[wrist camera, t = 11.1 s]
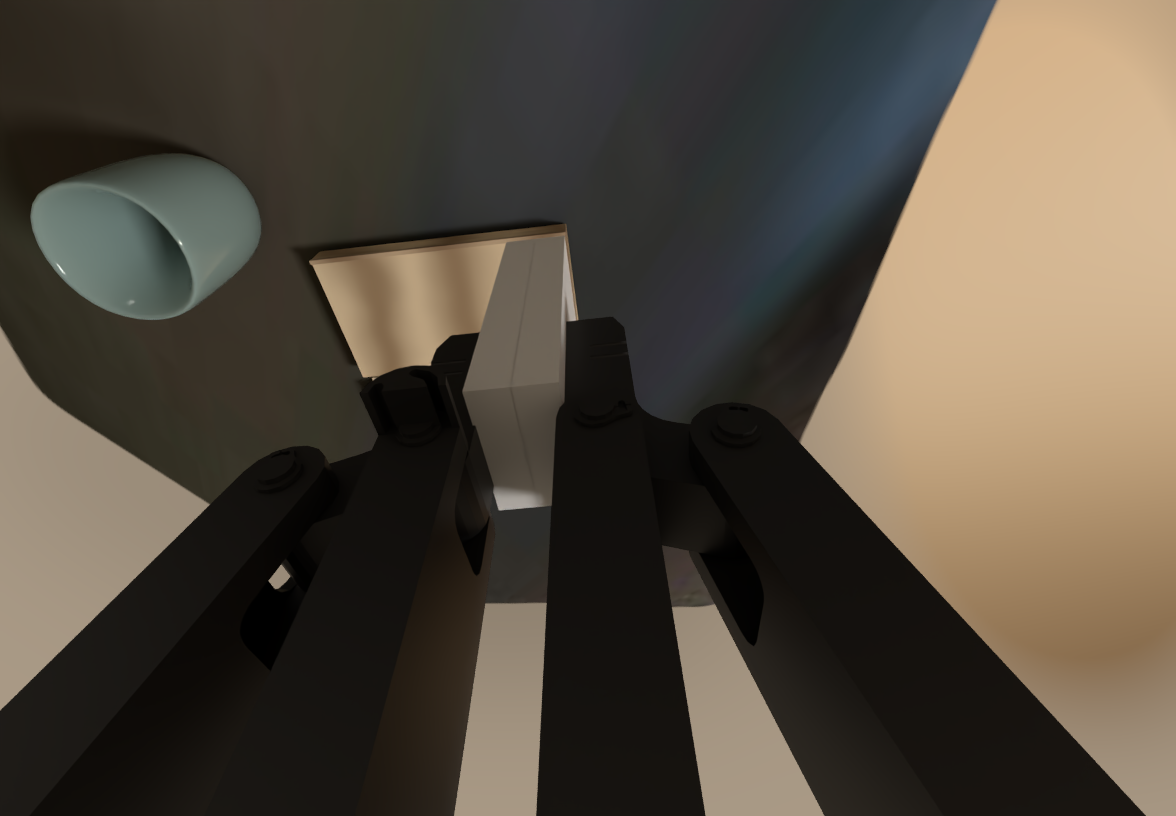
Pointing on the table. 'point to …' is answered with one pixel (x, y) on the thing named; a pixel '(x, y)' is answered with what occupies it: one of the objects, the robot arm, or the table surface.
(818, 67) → the table surface
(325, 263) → the loose plank
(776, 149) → the table surface
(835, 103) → the table surface
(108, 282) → the cup
